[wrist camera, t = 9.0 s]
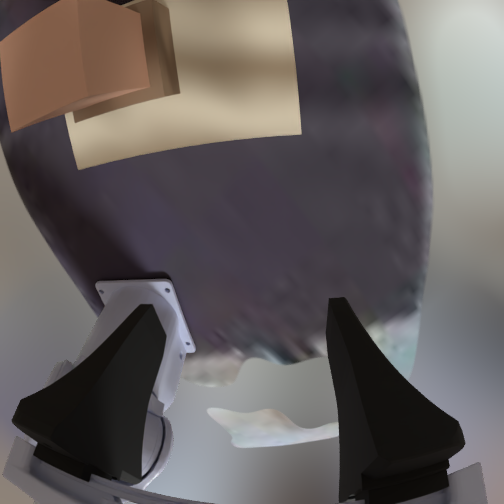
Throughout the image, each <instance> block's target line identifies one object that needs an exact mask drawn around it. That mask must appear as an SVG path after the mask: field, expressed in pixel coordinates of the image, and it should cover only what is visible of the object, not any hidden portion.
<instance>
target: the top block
mask: <svg viewBox="0 0 504 504" xmlns="http://www.w3.org/2000/svg"><path fill="white" fill-rule="evenodd" d="M0 58H1V70H2V80H3V88H4V95H5V101H6V107H7V113H8V118H9V123H10V128H11V133H12V132H15V131H17V130H20V129H22V128H25V127H27V126H30V125H33V124H35V123H38V122H41V121H44V120H47V119H50V118H53V117H56V116H59V115H62V114H66V113H69V112H73V111H76V110H80V109H83V108H86V107H88V106H91V105H94V104H97V103H99V102H102V101H105V100H108V99H111V98H114V97H117V96H120V95H124V94H127V93H130V92H134V91H137V90H141V89H144V88H148V87H150V83H149V76H148V70H147V63H146V56H145V49H144V41H143V34H142V25H141V16H140V13H138V12H135V11H133V10H130V9H128V8H125V7H123V6H120V5H118V4H115V3H112V2H109V1H107V0H60V1H58V2H56V3H55V4H53V5H51V6H50V7H48V8H47V9H45V10H44V11H42V12H40V13H39V14H37V15H36V16H34V17H33V18H32V19H30V20H29V21H27V22H26V23H24V24H23V25H22V26H20V27H19V28H18V29H16V30H15V31H14V32H12V33H11V34H10V35H9V36H7V37H6V38H5V39H4V40H2V41H1V42H0Z"/></svg>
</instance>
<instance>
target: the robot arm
mask: <svg viewBox="0 0 504 504" xmlns="http://www.w3.org/2000/svg"><path fill="white" fill-rule="evenodd" d="M95 287H96V289H97V291H98V293H99V295H100V297H101V299H102V301H103V303H104V305H105V307H104V309H103V311H102V312H101V314H100V316H99V318H98V319H97V321H96V323H95V325H94V327H93V329H92V331H91V333H90V334H89V336H88V338H87V340H86V342H85V344H84V346H83V348H82V350H81V352H80V354H79V355H78V357H77V359H76V361H75V362H74V364H73V365H72V363H71V362H69V361H68V360H65V361H64V362H57V364H56V365H55V367H54V369H53V371H52V372H51V374H50V376H49V378H48V380H47V382H46V384H45V386H44V388H43V389H42V390H40V391H38V392H36V393H35V394H32V395H30V396H28V397H26V398H24V399H21V400H20V403H19V405H18V407H17V409H16V411H15V414H14V416H13V419H12V423H13V424H14V425H15V426H16V427H17V428H19V429H20V430H21V431H22V432H24V433H25V436H24V439H25V440H23V439H21V438H19V437H18V436H17V437H16V438H15V440H14V443H13V446H12V448H11V451H10V454H9V456H8V459H7V462H6V465H5V468H4V471H3V474H2V475H3V476H4V477H5V478H6V479H7V480H9V481H10V482H12V483H13V484H14V485H16V486H17V487H18V488H19V489H21V490H22V491H23V492H25V493H26V494H27V495H29V496H30V497H31V498H33V499H34V500H35V501H34V504H123V503H126V502H134V503H137V504H213V503H204V502H198V501H192V500H186V499H180V498H175V497H170V496H165V495H161V494H156V493H152V492H148V491H144V490H145V488H146V487H147V486H148V485H149V483H150V482H151V481H152V480H153V479H154V478H156V477H157V476H159V475H160V474H161V473H162V471H163V470H164V469H165V467H166V465H167V463H168V461H169V459H170V456H171V453H172V449H173V432H172V428H171V424H170V422H169V420H168V419H167V418H166V417H165V416H163V412H164V411H165V410H166V409H168V408H169V406H170V405H171V404H172V402H173V401H174V399H175V396H176V392H177V388H178V384H179V380H180V376H181V372H182V368H183V364H184V360H185V356H186V352H187V353H193V352H195V350H196V347H195V344H194V342H193V339H192V337H191V334H190V331H189V329H188V326H187V323H186V321H185V318H184V315H183V312H182V310H181V307H180V304H179V301H178V298H177V295H176V293H175V290H174V287H173V284H172V282H171V281H170V280H169V279H144V280H116V281H97V283H96V284H95ZM166 288H168V289H170V290H168V289H166ZM102 290H103V291H102ZM326 340H327V351H328V359H329V364H330V369H331V374H332V379H333V385H334V390H335V395H336V400H337V408H338V421H339V443H340V480H339V503H338V504H487V496H486V490H485V484H484V478H483V473H482V468H481V464H480V463H479V462H477V463H475V464H473V465H471V466H468V467H466V468H463V469H461V470H458V471H456V472H454V473H451V474H449V475H447V470H446V469H448V468H449V466H450V465H449V460H448V459H449V458H451V457H452V456H453V455H455V454H456V453H458V452H459V451H460V450H461V449H462V448H463V447H464V445H465V440H464V436H463V432H462V429H461V427H460V425H459V422H458V421H457V420H455V419H454V418H453V417H451V416H450V415H448V414H447V413H445V412H444V411H442V410H441V409H440V408H438V407H437V406H436V405H435V404H433V403H432V402H430V401H429V400H428V399H427V398H426V397H425V396H424V395H422V394H421V393H420V392H419V391H418V390H417V389H416V388H414V386H412V385H411V384H410V383H409V382H408V381H407V380H406V379H405V378H404V377H403V376H402V375H401V374H400V373H399V372H398V370H397V369H396V368H395V367H394V366H393V365H392V364H391V363H390V362H389V360H388V359H387V358H386V357H385V356H384V354H383V353H382V352H381V350H380V349H379V348H378V347H377V345H376V344H375V343H374V341H373V340H372V339H371V337H370V336H369V334H368V333H367V331H366V330H365V329H364V327H363V326H362V324H361V323H360V321H359V319H358V318H357V316H356V315H355V313H354V311H353V310H352V308H351V306H350V305H349V303H348V301H347V299H346V298H345V297H341V298H329V304H328V316H327V326H326Z"/></svg>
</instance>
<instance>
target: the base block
mask: <svg viewBox="0 0 504 504" xmlns="http://www.w3.org/2000/svg"><path fill="white" fill-rule="evenodd" d="M125 8H128V9H130V10H133V11H135V12H138V13H140V16H141V25H142V34H143V41H144V49H145V56H146V63H147V70H148V76H149V83H150V87H148V88H144V89H141V90H137V91H134V92H130V93H127V94H124V95H120V96H117V97H114V98H111V99H108V100H105V101H102V102H99V103H97V104H94V105H91V106H88V107H86V108H83V109H80V110H76V111H73V117H74V122H75V123H77V122H80V121H83V120H86V119H89V118H92V117H95V116H98V115H101V114H105V113H108V112H111V111H114V110H117V109H121V108H124V107H128V106H131V105H135V104H138V103H142V102H146V101H150V100H154V99H158V98H162V97H167V96H171V95H176V94H181V93H180V87H179V80H178V73H177V67H176V60H175V52H174V45H173V38H172V30H171V22H170V13H169V9H168V8H167V7H165V6H164V5H162V4H160V3H159V2H157V1H156V0H144V1H141V2H138V3H135V4H132V5H129V6H127V7H125Z"/></svg>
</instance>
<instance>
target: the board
mask: <svg viewBox="0 0 504 504" xmlns="http://www.w3.org/2000/svg"><path fill="white" fill-rule="evenodd" d="M141 1H144V0H134V1H132V2H129V3H126V4H123V5H121V6H123V7H127V6H129V5H132V4H135V3H138V2H141ZM156 1H157V2H159V3H160V4H162V5H164V6H165V7H167V8H168V9H169V13H170V22H171V30H172V38H173V45H174V52H175V60H176V67H177V73H178V80H179V87H180V93H181V94H176V95H171V96H167V97H162V98H158V99H154V100H150V101H146V102H142V103H138V104H135V105H131V106H128V107H124V108H121V109H117V110H114V111H111V112H108V113H105V114H101V115H98V116H95V117H92V118H89V119H86V120H83V121H80V122H77V123H75V122H74V117H73V112H69V113H66V114H65V117H66V122H67V127H68V131H69V135H70V140H71V144H72V148H73V152H74V156H75V159H76V163H77V167H78V170H80V169H84V168H88V167H91V166H95V165H99V164H103V163H107V162H111V161H115V160H120V159H124V158H129V157H133V156H138V155H143V154H148V153H153V152H158V151H163V150H169V149H174V148H180V147H186V146H193V145H199V144H206V143H213V142H221V141H229V140H238V139H247V138H258V137H269V136H283V135H300V134H301V121H300V109H299V97H298V86H297V76H296V66H295V57H294V49H293V40H292V32H291V25H290V17H289V10H288V4H287V0H156Z"/></svg>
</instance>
